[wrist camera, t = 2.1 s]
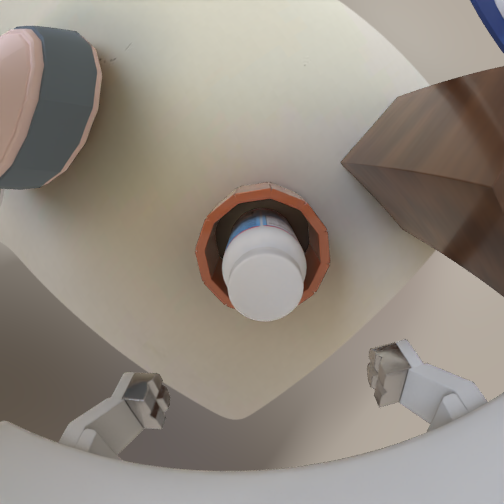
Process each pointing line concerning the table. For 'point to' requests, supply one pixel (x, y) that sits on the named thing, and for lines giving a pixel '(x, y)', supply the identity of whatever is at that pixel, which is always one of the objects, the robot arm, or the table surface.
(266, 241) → the pill bottle
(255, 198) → the desk pot
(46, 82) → the desk lamp
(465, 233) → the riser
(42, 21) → the table surface
